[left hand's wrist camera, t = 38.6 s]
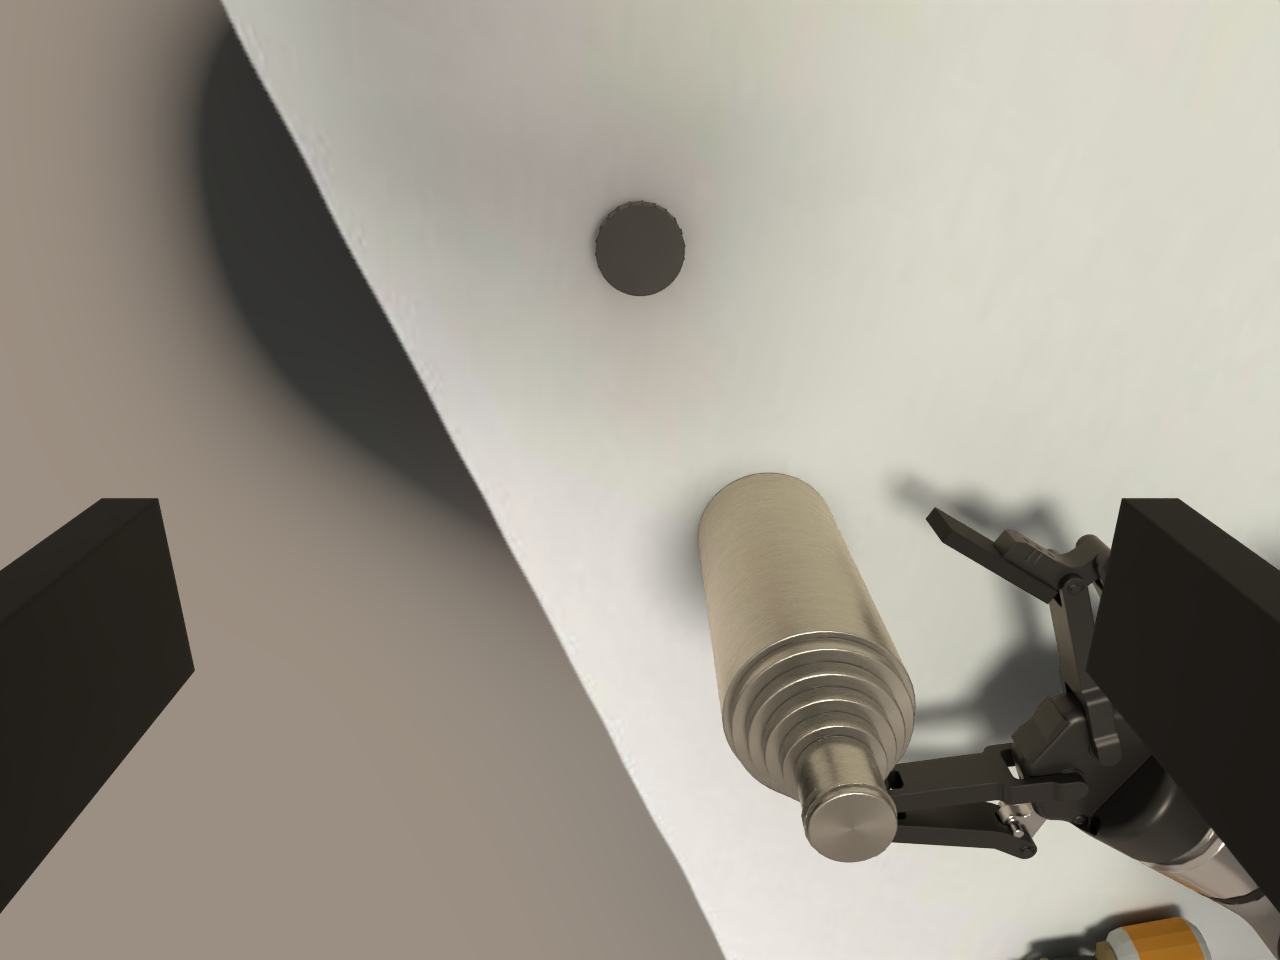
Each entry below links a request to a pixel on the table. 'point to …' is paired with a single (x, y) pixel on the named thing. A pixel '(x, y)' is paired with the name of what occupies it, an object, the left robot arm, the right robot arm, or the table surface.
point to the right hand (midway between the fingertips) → (855, 627)
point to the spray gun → (1151, 942)
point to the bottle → (804, 662)
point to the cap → (640, 248)
